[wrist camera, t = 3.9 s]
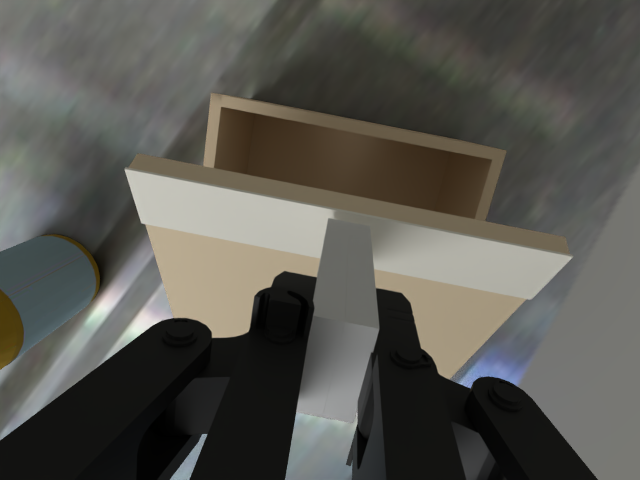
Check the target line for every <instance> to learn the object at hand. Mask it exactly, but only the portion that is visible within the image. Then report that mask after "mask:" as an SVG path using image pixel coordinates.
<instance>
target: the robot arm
mask: <svg viewBox="0 0 640 480" xmlns="http://www.w3.org/2000/svg"><path fill="white" fill-rule="evenodd" d="M357 408H358V424H357V427H356V431H355V434H354V438H353V442H352V445H351V449H350V452H349V456H348V459H347V463H346V465H349V466H351V463H352V460H353V465H352V480H598V479H597V478H596V477H595V476H594V474H593V473H592V472H591V471H590V470H589V468H588V467H587V466H586V465H585V463H584V462H583V461H582V460H581V458H580V457H579V456H578V455H577V453H576V452H575V451H574V450H573V449H572V447H571V446H570V445H569V444H568V443H567V441H566V440H565V439H564V438H563V436H562V435H561V434H560V433H559V431H558V430H557V429H556V428H555V426H554V425H553V424H552V423H551V421H550V420H549V419H548V418H547V417H546V415H545V414H544V413H543V412H542V411H541V409H540V408H539V407H538V405H537V404H536V403H535V402H534V401H533V399H532V398H531V397H530V396H528V394H526V393H525V392H524V391H523V390H522V389H520V388H519V387H517V386H515V385H514V384H513V383H510V382H508V381H505V380H503V379H500V378H494V377H489V376H488V377H480V378H478V379H477V380H475V381H474V382H473V385H472V387H471V389H470V388H468V387H465V386H463V385H460V384H458V383H456V382H453V381H451V380H449V379H447V378H445V377H443V376H441V375H440V374H439V373H438V370H437V367H436V364H435V362H434V360H433V358H432V357H431V356H430V355H429V354H428V353H427V352H426V351H425V350H423V349H421V346H420V341H419V337H418V333H417V328H416V324H415V320H414V316H413V311H412V307H411V303H410V302H409V301H408V299H407V298H406V297H405V296H404V295H403V294H402V293H400V292H395V291H390V290H385V289H380V288H376V286H375V275H374V264H373V253H372V242H371V231H370V226H367V225H362V224H357V223H351V222H346V221H341V220H336V219H331V218H328V222H327V227H326V232H325V237H324V242H323V247H322V252H321V257H320V262H319V267H318V272H317V277H313V276H308V275H303V274H298V273H293V272H287V271H283V272H282V273H280V274H279V275H277V276H276V277H275V278H274V280H273V283H272V285H271V287H269V288H265V289H263V290H260V291H259V292H258V293H257V294H256V295H255V296H254V302H253V309H252V316H251V323H250V329H249V331H248V332H247V333H245V334H243V335H239V336H235V337H227V338H212V331H211V330H210V329H209V328H208V327H207V325H205V324H203V323H201V322H200V321H198V320H193V319H189V318H172V319H167V320H163V321H161V322H159V323H157V324H155V325H153V326H152V327H150V328H149V329H148V330H146V331H145V332H144V333H142V334H141V335H140V336H138V337H137V338H136V339H134V340H133V341H132V342H130V343H129V344H128V345H126V346H125V347H124V348H122V349H121V350H120V351H118V352H117V353H116V354H114V355H113V356H112V357H110V358H109V359H108V360H106V361H105V362H104V363H102V364H101V365H100V366H98V367H97V368H96V369H95V370H93V371H92V372H91V373H89V374H88V375H87V376H85V377H84V378H83V379H81V380H80V381H79V382H77V383H76V384H75V385H73V386H72V387H71V388H69V389H68V390H67V391H65V392H64V393H63V394H61V395H60V396H59V397H57V398H56V399H55V400H53V401H52V402H51V403H49V404H48V405H47V406H45V407H44V408H43V409H41V410H40V411H39V412H38V413H36V414H35V415H34V416H32V417H31V418H30V419H28V420H27V421H26V422H24V423H23V424H22V425H20V426H19V427H18V428H16V429H15V430H14V431H12V432H11V433H10V434H8V435H7V436H6V437H4V438H3V439H2V440H0V480H170V478H171V477H172V476H173V474H174V473H175V472H176V471H177V469H178V468H179V467H180V465H181V464H182V463H183V461H184V460H185V459H186V457H187V456H188V455H189V453H190V452H191V451H192V449H193V448H194V447H195V446H196V444H197V443H198V442H199V439H200V437H201V435H202V434H208V435H207V437H206V440H205V442H204V445H203V447H202V450H201V452H200V455H199V457H198V460H197V462H196V465H195V467H194V470H193V472H192V475H191V477H190V480H285V476H286V470H287V464H288V458H289V452H290V446H291V440H292V434H293V428H294V422H295V416H296V412H298V413H303V414H308V415H313V416H318V417H324V418H329V419H334V420H339V421H344V422H349V423H354V419H355V416H356V412H357Z"/></svg>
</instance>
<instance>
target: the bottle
mask: <svg viewBox="0 0 640 480" xmlns="http://www.w3.org/2000/svg"><path fill="white" fill-rule="evenodd" d="M99 284H100V275H99V271H98V267H97V264H96V262H95V261H94V259H93V257H92V255H91V254H90V253H89V252H88V251H87V250H86V249H85V248H84V247H83V246H82V245H81V244H80V243H78V242H76V241H75V240H73V239H71V238H69V237H66V236H62V235H57V234H49V235H42V236H40V237H36V238H33V239H31V240H28V241H26V242H23V243H21V244H18V245H16V246H13V247H11V248H8V249H6V250H3V251H1V252H0V369H2V368H3V367H5V366H6V365H8V364H10V363H11V362H12V361H14V360H15V359H16V358H18V357H19V356H20V355H22V354H23V353H24V352H26V351H27V350H28V349H30V348H31V347H32V346H34V345H35V344H37V343H38V342H39V341H41V340H42V339H43V338H45V337H46V336H47V335H49V334H50V333H51V332H53V331H54V330H55V329H57V328H58V327H59V326H61V325H62V324H63V323H65V322H66V321H67V320H69V319H70V318H71V317H73V316H74V315H76V314H77V313H78V312H80V311H81V310H82V309H83V308H85V307H86V306H87V305H88V304H89V303H90V302H91V301H93V299H94V298H95V296H96V294H97V292H98V290H99Z"/></svg>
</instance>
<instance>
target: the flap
mask: <svg viewBox="0 0 640 480" xmlns="http://www.w3.org/2000/svg"><path fill="white" fill-rule="evenodd" d="M125 173H126V176H127V179H128V182H129V185H130V189H131V192H132V195H133V198H134V201H135V205H136V208H137V211H138V214H139V217H140V221H141V223H142V224H146V228H147V231H148V234H149V238H150V241H151V244H152V248H153V251H154V254H155V258H156V261H157V264H158V267H159V271H160V274H161V277H162V281H163V284H164V287H165V291H166V294H167V297H168V301H169V304H170V307H171V311H172V314H173V317H174V318H189V319H193V320H198V321H200V322H201V323H203V324H205V325H207V327H208V328H209V329H210V330H211V331H212V338H227V337H235V336H239V335H243V334H245V333H247V332H248V331H249V329H250V323H251V316H252V309H253V302H254V296H255V295H256V294H257V293H258V292H259V291H260V290H263V289H265V288H269V287H271V285H272V283H273V280H274V278H275V277H276V276H277V275H279V274H280V273H282V272H283V271H287V272H293V273H298V274H303V275H308V276H313V277H317V272H318V267H319V262H320V257H321V252H322V247H323V242H324V237H325V232H326V227H327V222H328V218H331V219H336V220H341V221H346V222H351V223H357V224H362V225H367V226H370V231H371V242H372V253H373V264H374V275H375V286H376V288H380V289H385V290H390V291H395V292H400V293H402V294H403V295H404V296H405V297H406V298H407V299H408V301H409V302H410V303H411V307H412V311H413V316H414V320H415V324H416V328H417V333H418V337H419V341H420V346H421V349H423V350H425V351H426V352H427V353H428V354H429V355H430V356H431V357H432V358H433V360H434V362H435V364H436V367H437V370H438V373H439V374H440V375H441V376H443V377H445V378H447V379H450V378H451V377H452V376H453V375H454V374H455V373H456V372H457V371H458V370H459V369H460V368H461V367H462V366H463V365H464V364H465V362H466V361H467V360H468V359H469V358H470V357H471V356H472V355H473V354H474V353H475V352H476V351H477V350H478V349H479V348H480V347H481V346H482V345H483V344H484V343H485V342H486V341H487V340H488V339H489V338H490V337H491V335H492V334H493V333H494V332H495V331H496V330H497V329H498V328H499V327H500V326H501V325H502V324H503V323H504V322H505V321H506V320H507V319H508V318H509V317H510V316H511V315H512V314H513V313H514V312H515V311H516V309H517V308H518V307H519V306H520V305H521V304H522V303H523V302H524V301H525V300H526V299H529V300H531V299H532V298H533V297H534V296H535V295H536V294H537V293H538V292H539V291H540V290H541V289H542V288H543V287H544V286H545V285H546V284H547V283H548V282H549V281H550V280H551V279H552V278H553V277H554V276H555V275H556V274H557V273H558V272H559V271H560V270H561V269H562V268H563V267H564V266H565V265H566V264H567V263H568V262H569V261H570V260H571V259H572V258H573V255H571V254H570V253H569V249H568V246H567V242H566V238H565V237H562V236H557V235H552V234H547V233H542V232H537V231H532V230H527V229H522V228H516V227H511V226H506V225H501V224H496V223H491V222H486V221H481V220H476V219H471V218H465V217H460V216H455V215H450V214H445V213H440V212H435V211H430V210H425V209H420V208H415V207H409V206H404V205H399V204H394V203H389V202H384V201H379V200H374V199H369V198H364V197H358V196H353V195H348V194H343V193H338V192H333V191H328V190H323V189H318V188H313V187H307V186H302V185H297V184H292V183H287V182H282V181H277V180H272V179H267V178H262V177H256V176H251V175H246V174H241V173H236V172H231V171H226V170H221V169H216V168H211V167H205V166H200V165H195V164H190V163H185V162H180V161H175V160H170V159H165V158H160V157H154V156H149V155H144V154H139V153H137V155H136V157H135V158H134V160H133V161H132V163H131V164H130V166H129V167H125Z"/></svg>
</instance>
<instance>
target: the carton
mask: <svg viewBox="0 0 640 480" xmlns="http://www.w3.org/2000/svg"><path fill="white" fill-rule="evenodd" d="M506 152H507V151H506V150H502V149H497V148H493V147H489V146H484V145H480V144H476V143H471V142H467V141H463V140H458V139H453V138H448V137H443V136H438V135H433V134H427V133H422V132H417V131H412V130H407V129H402V128H397V127H392V126H387V125H382V124H376V123H371V122H366V121H361V120H356V119H351V118H346V117H341V116H336V115H330V114H325V113H320V112H315V111H310V110H305V109H300V108H295V107H290V106H284V105H279V104H274V103H269V102H264V101H259V100H254V99H248V98H242V97H235V96H229V95H222V94H216V93H211V100H210V109H209V118H208V127H207V137H206V146H205V155H204V164H203V166H205V167H211V168H216V169H221V170H226V171H231V172H236V173H241V174H246V175H251V176H256V177H262V178H267V179H272V180H277V181H282V182H287V183H292V184H297V185H302V186H307V187H313V188H318V189H323V190H328V191H333V192H338V193H343V194H348V195H353V196H358V197H364V198H369V199H374V200H379V201H384V202H389V203H394V204H399V205H404V206H409V207H415V208H420V209H425V210H430V211H435V212H440V213H445V214H450V215H455V216H460V217H465V218H471V219H476V220H481V221H486V217H487V214H488V211H489V207H490V204H491V201H492V198H493V194H494V191H495V188H496V185H497V181H498V178H499V175H500V172H501V168H502V165H503V162H504V158H505V155H506Z"/></svg>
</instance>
